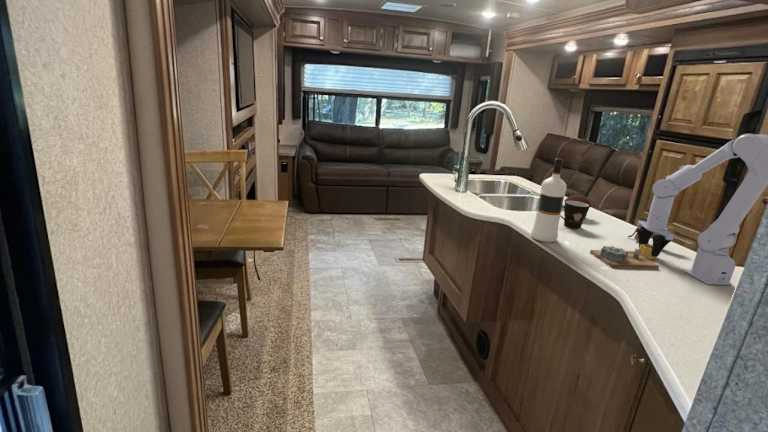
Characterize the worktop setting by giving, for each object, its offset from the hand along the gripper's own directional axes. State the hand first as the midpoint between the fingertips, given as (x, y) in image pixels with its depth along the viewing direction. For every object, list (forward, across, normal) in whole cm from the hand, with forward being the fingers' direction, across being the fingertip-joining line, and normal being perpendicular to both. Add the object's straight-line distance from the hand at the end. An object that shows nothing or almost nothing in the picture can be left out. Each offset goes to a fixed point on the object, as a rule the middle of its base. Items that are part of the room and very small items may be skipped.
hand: (648, 252), depth 140 cm
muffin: (+2, +45, +1) cm, 45 cm away
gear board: (+1, -5, +12) cm, 14 cm away
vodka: (+2, +14, +31) cm, 34 cm away
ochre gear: (+1, 0, 0) cm, 1 cm away
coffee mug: (+2, +31, +12) cm, 33 cm away
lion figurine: (+2, +12, -10) cm, 15 cm away
